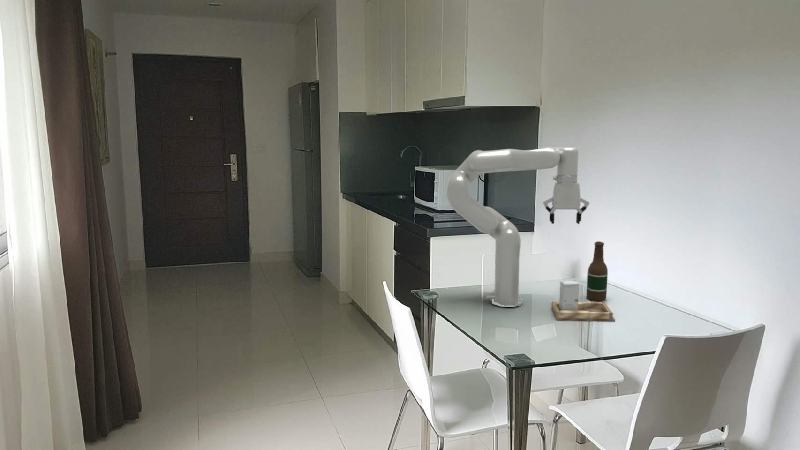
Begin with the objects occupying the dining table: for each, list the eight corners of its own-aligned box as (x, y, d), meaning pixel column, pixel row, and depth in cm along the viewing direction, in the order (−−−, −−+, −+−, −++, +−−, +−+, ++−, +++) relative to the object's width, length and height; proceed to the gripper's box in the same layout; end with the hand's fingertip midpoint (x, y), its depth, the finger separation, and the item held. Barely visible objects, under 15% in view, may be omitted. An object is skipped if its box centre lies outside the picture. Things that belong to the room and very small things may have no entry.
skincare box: (562, 315, 223) (564, 284, 220) (558, 311, 227) (559, 280, 225) (578, 314, 223) (579, 283, 221) (573, 310, 228) (574, 280, 225)
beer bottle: (607, 302, 238) (610, 244, 233) (587, 301, 240) (590, 244, 235) (604, 296, 245) (608, 240, 241) (585, 295, 247) (588, 239, 242)
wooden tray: (556, 320, 220) (557, 312, 219) (551, 308, 232) (551, 301, 232) (614, 321, 218) (615, 313, 217) (606, 309, 230) (606, 302, 230)
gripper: (545, 180, 224) (543, 225, 227) (592, 180, 222) (589, 225, 226) (542, 178, 231) (541, 221, 235) (588, 178, 229) (586, 221, 233)
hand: (565, 223), depth 230 cm, fingers open, 9 cm apart
